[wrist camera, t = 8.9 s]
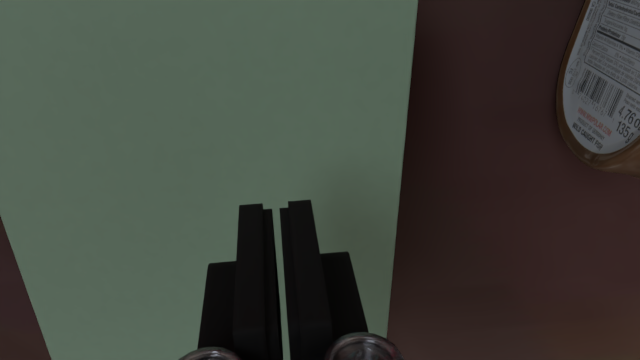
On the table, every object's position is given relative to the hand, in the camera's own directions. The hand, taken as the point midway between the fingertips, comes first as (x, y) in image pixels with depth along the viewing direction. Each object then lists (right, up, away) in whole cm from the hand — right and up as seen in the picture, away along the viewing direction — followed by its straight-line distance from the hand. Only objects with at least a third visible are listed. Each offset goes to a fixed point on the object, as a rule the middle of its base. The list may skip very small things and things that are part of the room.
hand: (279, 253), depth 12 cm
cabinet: (-4, +5, +12) cm, 14 cm away
